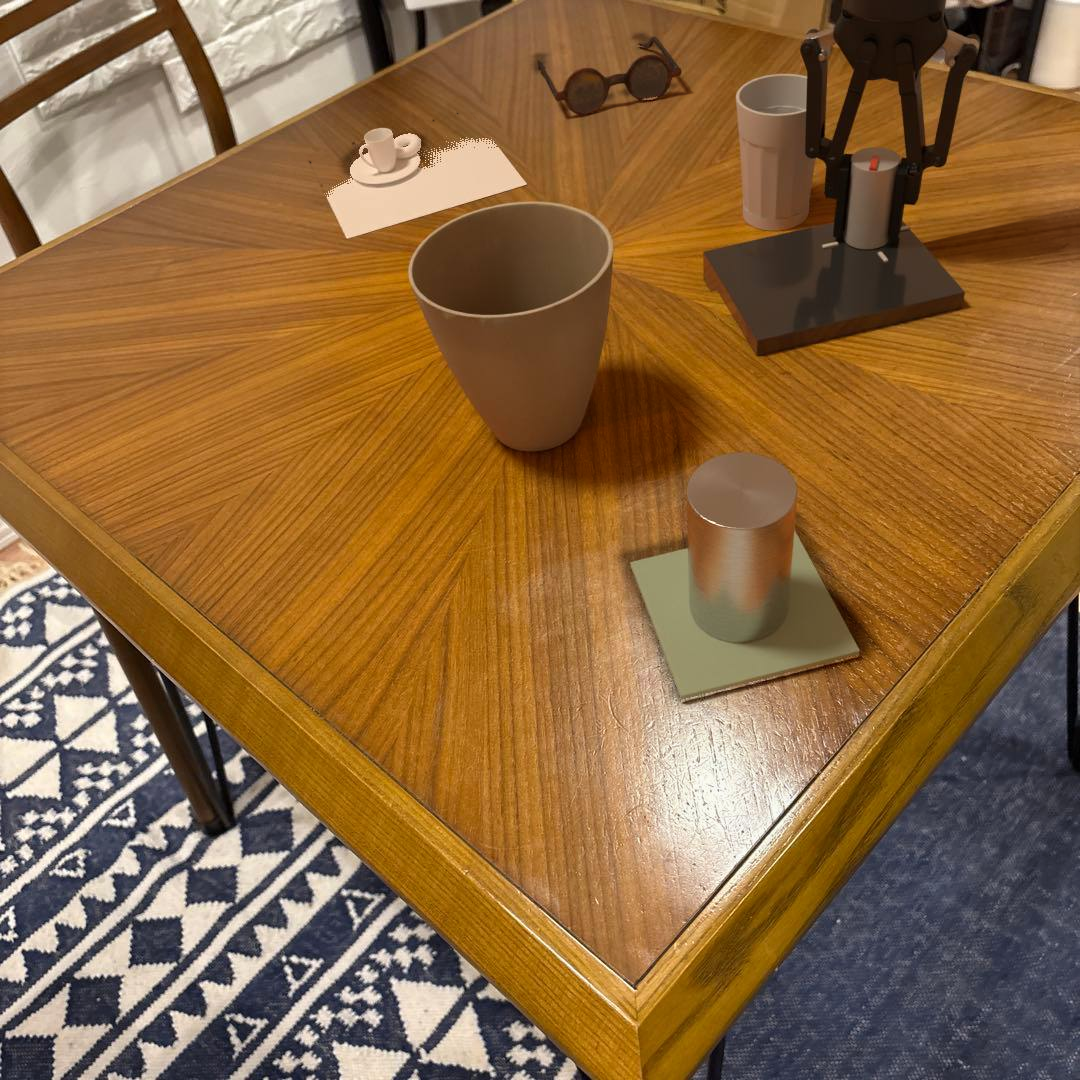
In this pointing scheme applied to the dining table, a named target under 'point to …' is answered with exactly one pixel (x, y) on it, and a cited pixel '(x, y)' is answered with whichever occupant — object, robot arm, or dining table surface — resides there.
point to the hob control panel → (826, 286)
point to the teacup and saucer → (416, 181)
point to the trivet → (720, 664)
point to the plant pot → (519, 313)
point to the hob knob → (870, 197)
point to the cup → (774, 151)
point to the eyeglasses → (616, 81)
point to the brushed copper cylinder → (740, 545)
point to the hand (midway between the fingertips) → (867, 231)
